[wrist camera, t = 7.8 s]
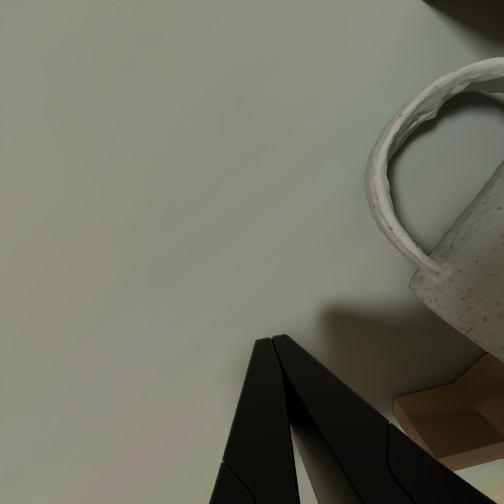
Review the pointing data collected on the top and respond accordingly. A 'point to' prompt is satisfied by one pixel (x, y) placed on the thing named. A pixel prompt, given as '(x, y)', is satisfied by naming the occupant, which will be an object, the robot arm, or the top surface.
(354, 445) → the robot arm
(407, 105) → the ceramic mug
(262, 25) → the top surface
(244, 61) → the top surface
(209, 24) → the top surface
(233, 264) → the top surface
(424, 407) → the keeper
